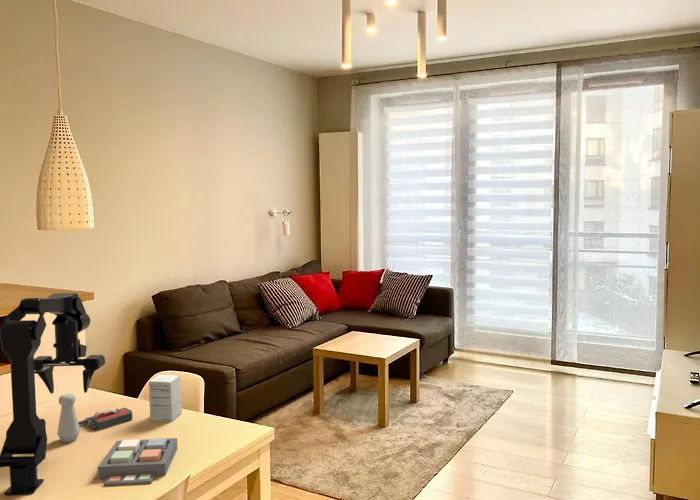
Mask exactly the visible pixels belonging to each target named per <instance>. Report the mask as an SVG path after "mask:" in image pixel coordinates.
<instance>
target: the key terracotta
mask: <svg viewBox="0 0 700 500" xmlns="http://www.w3.org/2000/svg"><path fill="white" fill-rule="evenodd" d="M160 458H161V449H149V450H143V452H142V453H141V455H140V457H139V462H155V461H159V460H160Z"/></svg>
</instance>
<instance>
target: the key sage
mask: <svg viewBox="0 0 700 500" xmlns="http://www.w3.org/2000/svg"><path fill="white" fill-rule="evenodd" d="M132 459H133V450H128V451H115V452H114V454H113V455H112V457H111V458H110V464H115V463H131V461H132Z"/></svg>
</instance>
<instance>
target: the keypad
mask: <svg viewBox="0 0 700 500" xmlns="http://www.w3.org/2000/svg"><path fill="white" fill-rule="evenodd" d="M150 439H151V438H149V439H140V448H139V449H138V451H133V459H132V461H131V463H115V464H110V458H111V457H112V455H113V454H114V452H115V451H118V447H119V445H120V444H121V442H122V441H123V440H116V441H115V442H114V444H113V445H112V446H111V448H110V449H109V450H108V452H107V454H106V455H105V457H103V459H102V461H101V462H100V463H99V464H98V466H97V473H98V474H97V476H98V480H102V479H105V481H104V483H103V486H104V487H109V486H126V485H128V486H131V485H146V484H147V485H149V484H152V483H153V481H154V479H155V477H157V476H167V473H168V471H169V469H170V466H171V464H172V462H173V459H174V457H175V455H176V452H177V450H178V438H177V437H175V438H174V437H170V438H169V437H168V438H167V446H166V448H165V450H161V458H160V460H159V461H155V462H139V457H140V455H141V453H142V452H143V450H146V445H147V443H148V441H149V440H150Z"/></svg>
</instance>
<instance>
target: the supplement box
mask: <svg viewBox="0 0 700 500" xmlns="http://www.w3.org/2000/svg"><path fill="white" fill-rule="evenodd" d="M181 387H182V386H181V375H179V374H158V375H157V376H155V377H153V378H152V379H151V380H149V381H148V394H149V396H148V397H149V398H148V399H149V416H150V417H149V418H150V421H151V422H153V421H154V422H166V423H167V422H173V421H174V420H176V419H177V418H178V417H179V416H181V415H182V391H181V390H182V389H181Z"/></svg>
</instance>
